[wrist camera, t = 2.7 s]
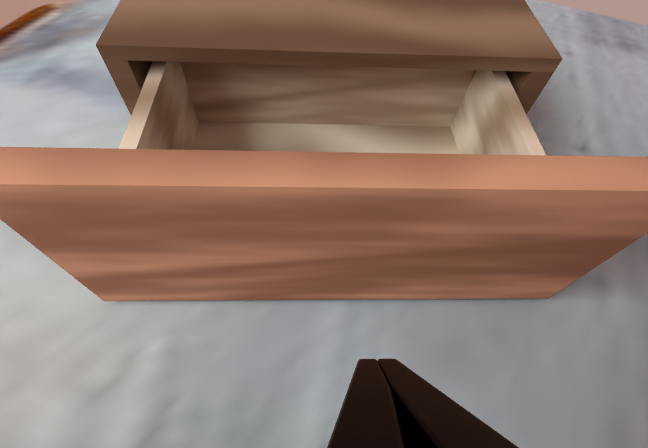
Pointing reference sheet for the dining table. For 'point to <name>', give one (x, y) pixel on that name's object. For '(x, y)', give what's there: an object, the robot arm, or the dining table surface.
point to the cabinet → (330, 37)
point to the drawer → (323, 190)
